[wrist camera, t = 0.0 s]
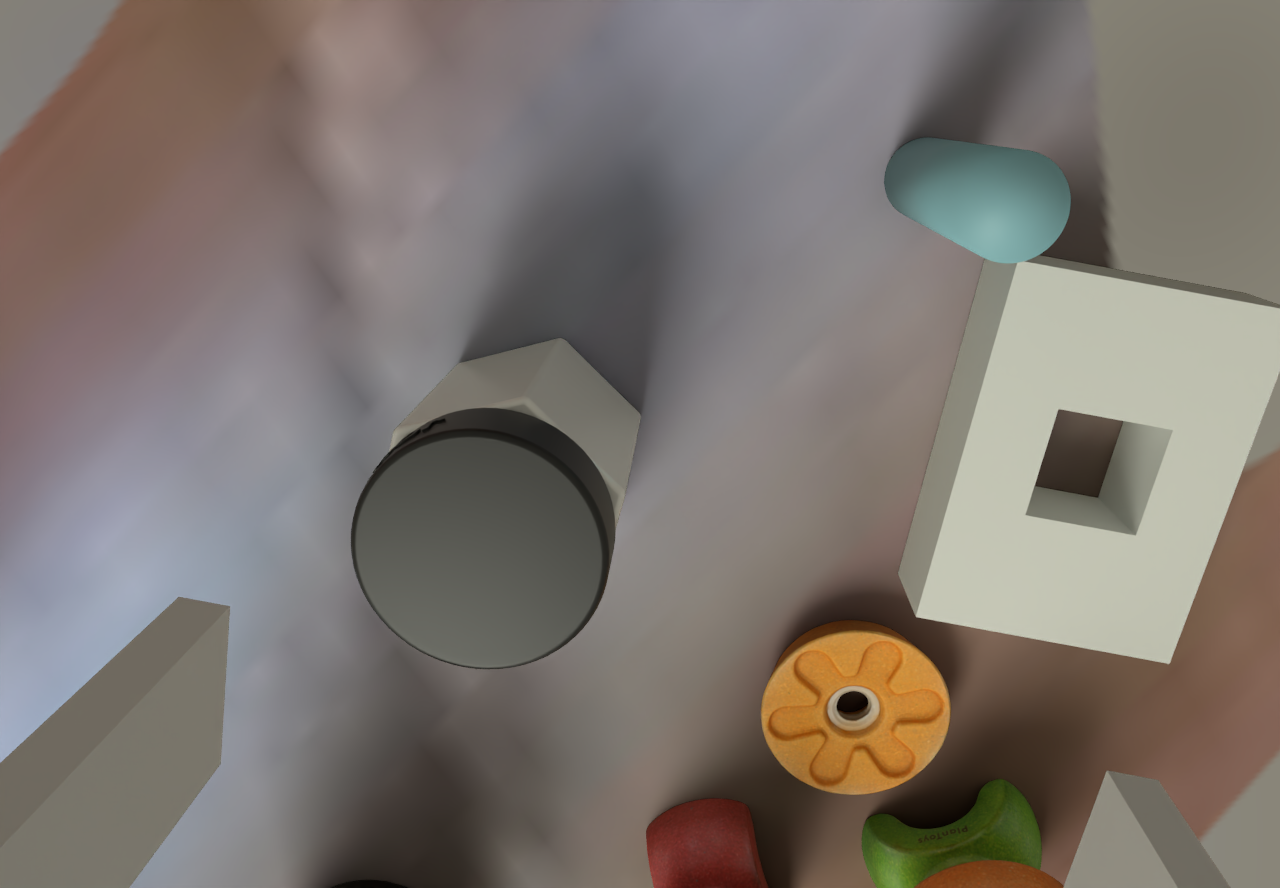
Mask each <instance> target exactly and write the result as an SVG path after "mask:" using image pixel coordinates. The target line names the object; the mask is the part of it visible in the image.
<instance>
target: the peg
mask: <svg viewBox="0 0 1280 888" xmlns="http://www.w3.org/2000/svg"><path fill="white" fill-rule="evenodd" d="M884 184H885V191H886V194H887V197H888V199H889V201H890V202H891V204H892V205H893V206H894V208H895V209H896V210H898V211H899V212H900V213H902V214H903V215H905V216H907V217H909V218H911V219H913V220H914V221H916V222H918V223H920V224H922V225H924V226H926V227H927V228H929V229H931V230H933V231H935V232H937V233H939V234H940V235H942V236H944V237H946V238H948V239H950V240H952V241H953V242H955V243H957V244H959V245H961V246H963V247H965V248H966V249H968V250H970V251H972V252H974V253H976V254H978V255H979V256H981V257H983V258H985V259H988V260H990V261H993V262H997V263H1019V262H1023V261H1027V260H1029V259H1032V258H1034V257H1036V256H1038V255H1039V254H1041V253H1043V252H1044V251H1045V250H1047V249H1048V248H1049V247H1050V246H1051V245H1052V244H1053V243H1054V242H1055V241H1056V240H1057V239H1058V237H1059V236H1060V234H1061V233H1062V231H1063V229H1064V227H1065V225H1066V223H1067V220H1068V217H1069V213H1070V206H1071V195H1070V189H1069V185H1068V182H1067V180H1066V178H1065V176H1064V174H1063V172H1062V171H1061V169H1060V168H1059V167H1058V166H1057V165H1056V164H1055V163H1054V162H1053V161H1052V160H1050V159H1049V158H1047V157H1046V156H1044V155H1042V154H1039V153H1037V152H1033V151H1029V150H1022V149H1014V148H1007V147H999V146H992V145H984V144H977V143H969V142H962V141H954V140H946V139H939V138H931V137H924V138H918V139H915V140H912V141H910V142H908V143H906V144H905V145H903V146H902V147H901V148H899V149H898V150H897V151H896V152H895V154H894V155H893V156H892V158H891V159H890V161H889V163H888V166H887V168H886V172H885V179H884Z"/></svg>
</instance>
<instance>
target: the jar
mask: <svg viewBox="0 0 1280 888" xmlns="http://www.w3.org/2000/svg"><path fill="white" fill-rule="evenodd" d="M640 421H641V415H640V414H639V412H638V411H637V410H636V409H635V408H634V407H633V406H632V405H631V404H630V403H629V402H628V401H627V400H626V399H625V398H624V397H623V396H622V395H620V394H619V393H618V392H617V391H616V390H615V389H614V388H613V387H612V386H611V385H610V384H609V383H608V382H607V381H606V380H605V379H604V378H603V377H602V376H601V375H600V374H599V373H598V372H597V371H596V370H595V369H594V368H593V367H592V366H591V365H590V364H589V363H588V362H587V361H586V360H585V359H584V358H583V357H582V356H581V355H580V354H579V353H578V352H577V351H576V350H575V349H574V348H573V347H572V346H571V345H570V344H569V343H568V342H567V341H566V340H564V339H562V338H557V339H553V340H549V341H546V342H542V343H538V344H534V345H530V346H526V347H522V348H518V349H514V350H510V351H506V352H502V353H498V354H494V355H490V356H486V357H482V358H478V359H474V360H470V361H466V362H462V363H459V364H457V365H456V366H455V367H454V368H453V369H452V370H451V371H450V372H449V373H448V374H447V375H446V376H445V377H444V379H443V380H442V381H441V382H440V383H439V384H438V385H437V386H436V387H435V388H434V389H433V390H432V391H431V392H430V393H429V394H428V395H427V396H426V397H425V398H424V399H423V400H422V401H421V402H420V403H419V404H418V406H417V407H416V408H415V409H414V410H413V411H412V412H411V413H410V414H409V415H408V416H407V417H406V418H405V419H404V420H403V421H402V422H401V423H400V424H399V425H398V426H397V427H396V428H395V430H394V432H393V435H392V440H391V445H390V450H389V453H388V454H387V455H386V456H385V457H384V458H383V460H382V461H381V462H380V463H379V465H378V466H377V467H376V468H375V470H374V471H373V473H374V474H373V475H372V476H371V477H370V478H369V480H368V482H367V484H366V485H365V487H364V489H363V491H362V493H361V495H360V498H359V500H358V503H357V506H356V509H355V513H354V517H353V522H352V529H351V552H352V559H353V565H354V569H355V572H356V576H357V579H358V581H359V584H360V586H361V589H362V591H363V593H364V595H365V597H366V599H367V600H368V602H369V604H370V605H371V607H372V608H373V610H374V611H375V612H376V614H377V615H378V616H379V618H380V619H381V620H382V621H383V622H384V623H385V624H386V625H387V626H388V628H389V629H391V630H392V631H393V632H394V633H395V634H396V635H397V636H398V637H400V638H401V639H402V640H404V641H405V642H406V643H408V644H409V645H411V646H412V647H414V648H415V649H417V650H419V651H421V652H423V653H425V654H427V655H428V656H431V657H433V658H436V659H438V660H440V661H443V662H447V663H450V664H453V665H458V666H462V667H468V668H475V669H503V668H510V667H516V666H520V665H525V664H528V663H531V662H534V661H537V660H539V659H541V658H544V657H546V656H548V655H550V654H551V653H553V652H555V651H557V650H558V649H560V648H561V647H563V646H564V645H566V644H567V643H568V642H569V641H570V640H572V639H573V638H574V637H575V636H576V635H577V634H578V633H579V632H580V631H581V630H582V629H583V628H584V626H585V625H586V624H587V623H588V621H589V620H590V618H591V617H592V615H593V614H594V612H595V610H596V609H597V607H598V605H599V603H600V601H601V598H602V596H603V593H604V590H605V587H606V583H607V579H608V574H609V569H610V564H611V559H612V554H613V550H614V543H615V530H616V526H617V523H618V519H619V516H620V512H621V509H622V505H623V502H624V498H625V494H626V489H627V484H628V479H629V475H630V470H631V465H632V460H633V455H634V450H635V445H636V440H637V435H638V431H639V426H640Z"/></svg>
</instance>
